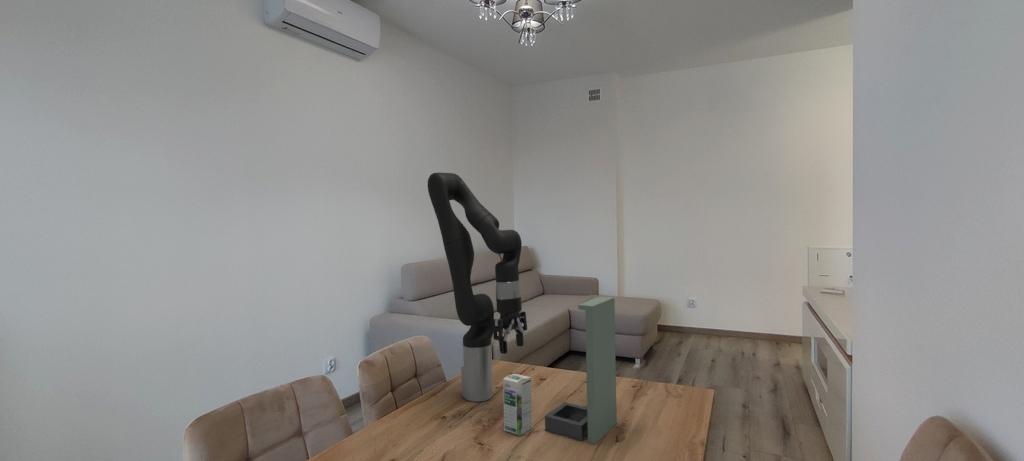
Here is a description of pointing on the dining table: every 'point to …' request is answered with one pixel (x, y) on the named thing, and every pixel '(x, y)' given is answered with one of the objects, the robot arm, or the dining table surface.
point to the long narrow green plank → (600, 366)
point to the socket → (568, 421)
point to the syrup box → (517, 404)
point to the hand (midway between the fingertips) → (512, 349)
